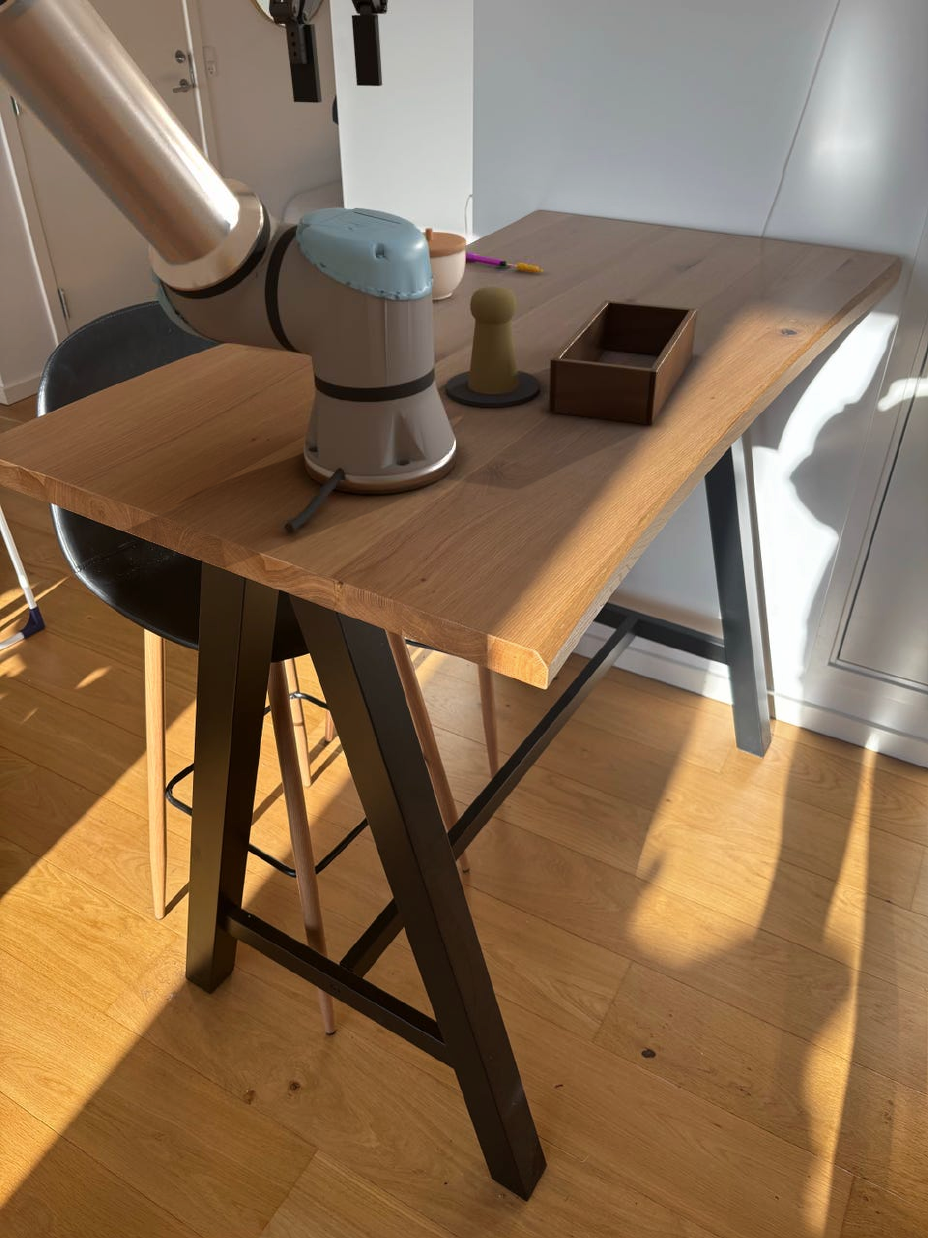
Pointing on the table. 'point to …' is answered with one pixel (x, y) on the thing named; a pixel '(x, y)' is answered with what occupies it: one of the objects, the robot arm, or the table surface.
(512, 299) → the cork
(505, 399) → the coaster
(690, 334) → the box
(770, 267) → the table surface
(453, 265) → the trinket box
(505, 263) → the multicoloured piece
